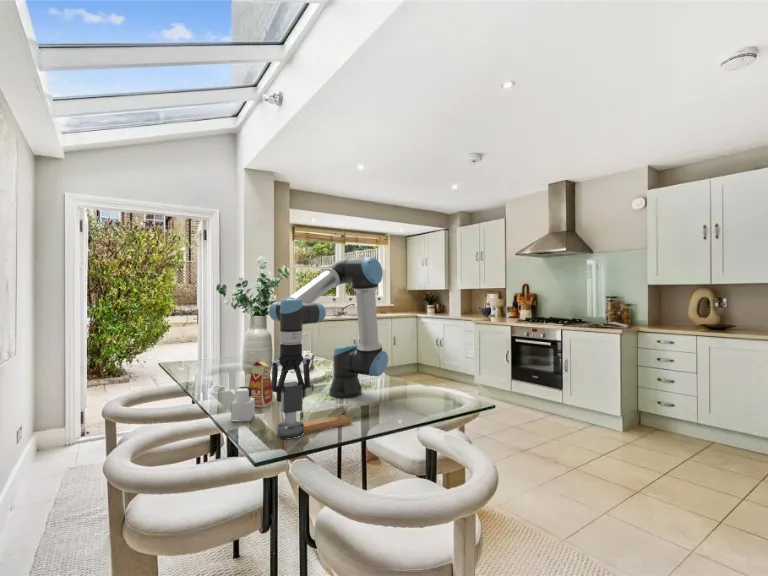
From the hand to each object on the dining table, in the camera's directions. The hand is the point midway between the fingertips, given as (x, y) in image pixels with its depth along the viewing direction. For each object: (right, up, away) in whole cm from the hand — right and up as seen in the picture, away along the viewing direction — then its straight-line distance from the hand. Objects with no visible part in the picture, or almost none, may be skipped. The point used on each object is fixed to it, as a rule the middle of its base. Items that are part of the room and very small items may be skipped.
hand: (290, 408), depth 141 cm
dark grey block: (0, 0, 0) cm, 0 cm away
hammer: (+8, -9, +5) cm, 13 cm away
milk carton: (-22, -8, +35) cm, 42 cm away
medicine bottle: (-22, -9, +16) cm, 28 cm away
